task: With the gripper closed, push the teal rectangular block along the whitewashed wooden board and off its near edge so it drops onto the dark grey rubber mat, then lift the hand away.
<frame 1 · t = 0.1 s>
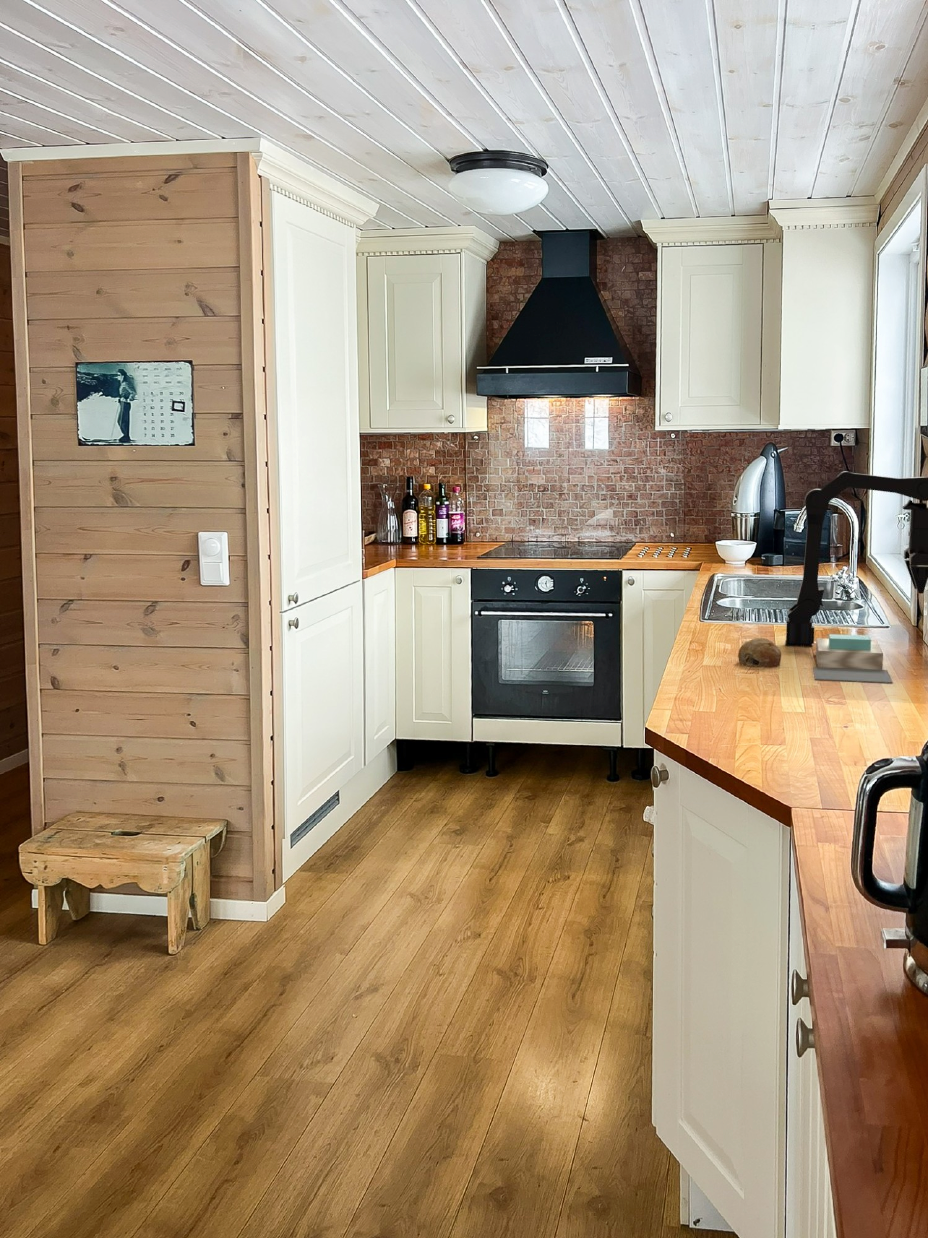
hand: (918, 591, 286), 15 cm above the counter, tool pointing down, fingers open, 9 cm apart
board: (847, 662, 272), on the counter
mat: (851, 675, 256), on the counter
teal rectangular block: (849, 647, 269), point 4 cm above the counter, touching board
brown rounded dome: (759, 664, 272), on the counter
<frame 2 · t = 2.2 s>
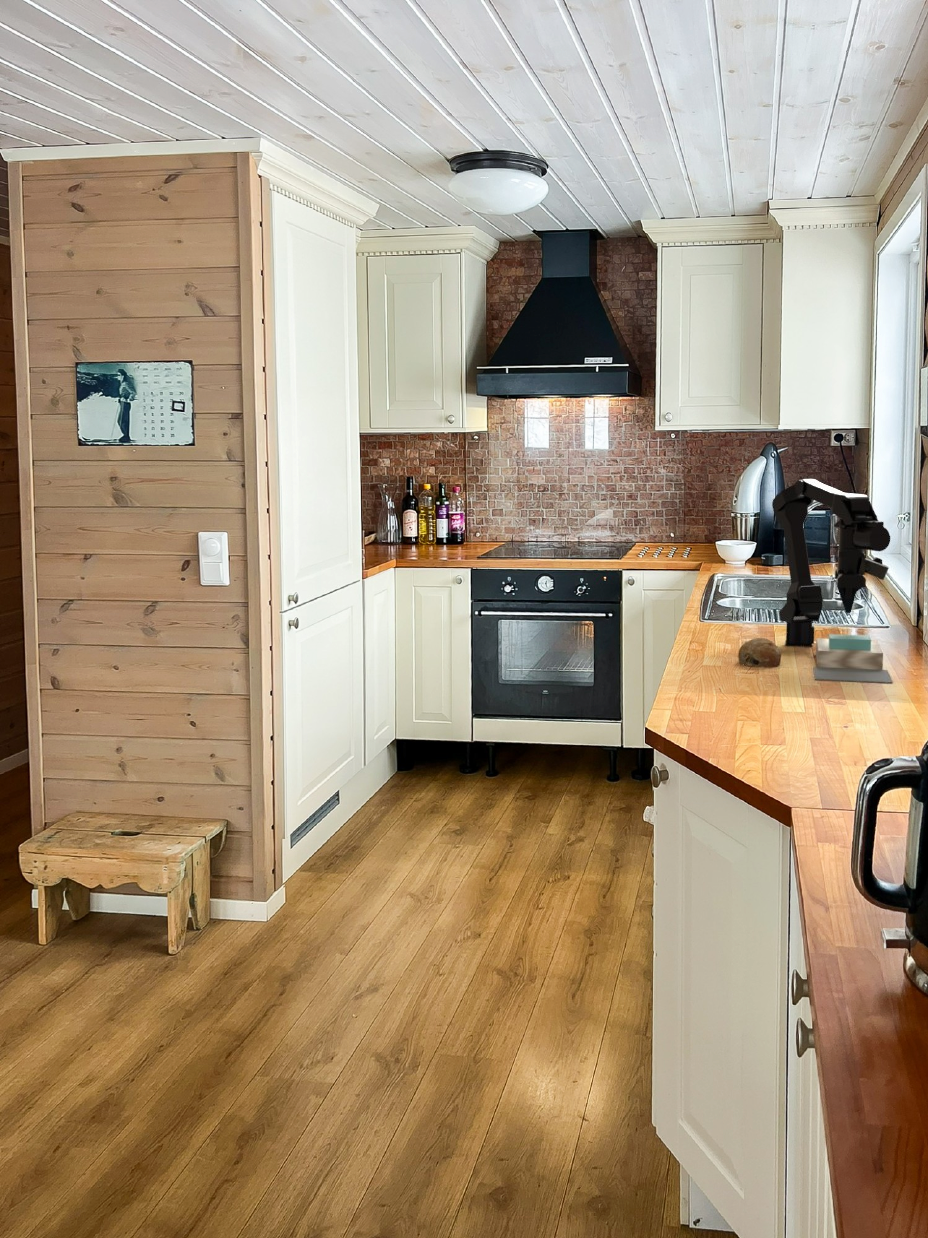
hand: (848, 612, 276), 11 cm above the counter, tool pointing down, fingers closed
nothing on the counter moved.
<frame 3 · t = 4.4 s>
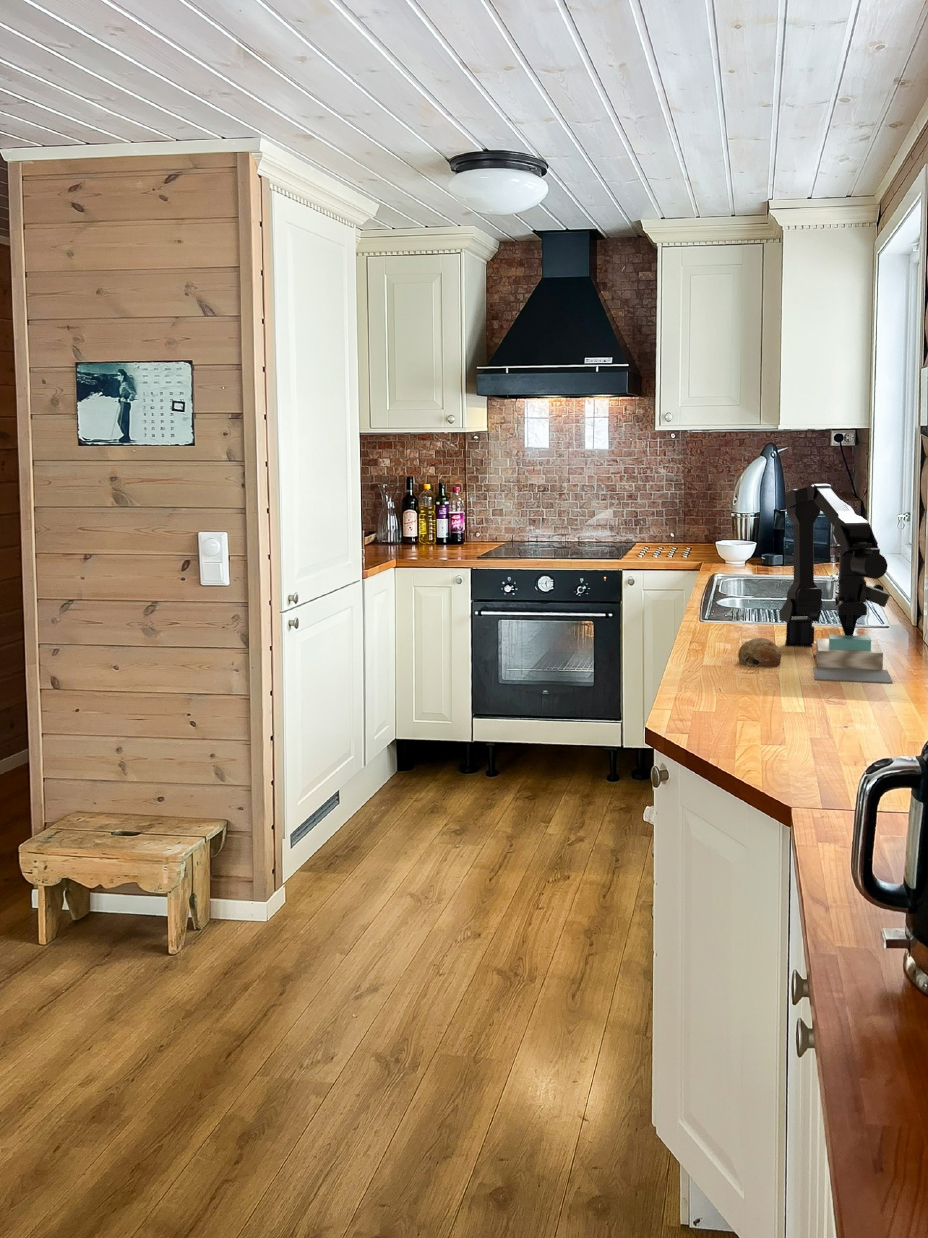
hand: (849, 640, 272), 5 cm above the counter, tool pointing down, fingers closed
teal rectangular block: (849, 648, 268), point 4 cm above the counter, touching board, gripper
everything else where it was.
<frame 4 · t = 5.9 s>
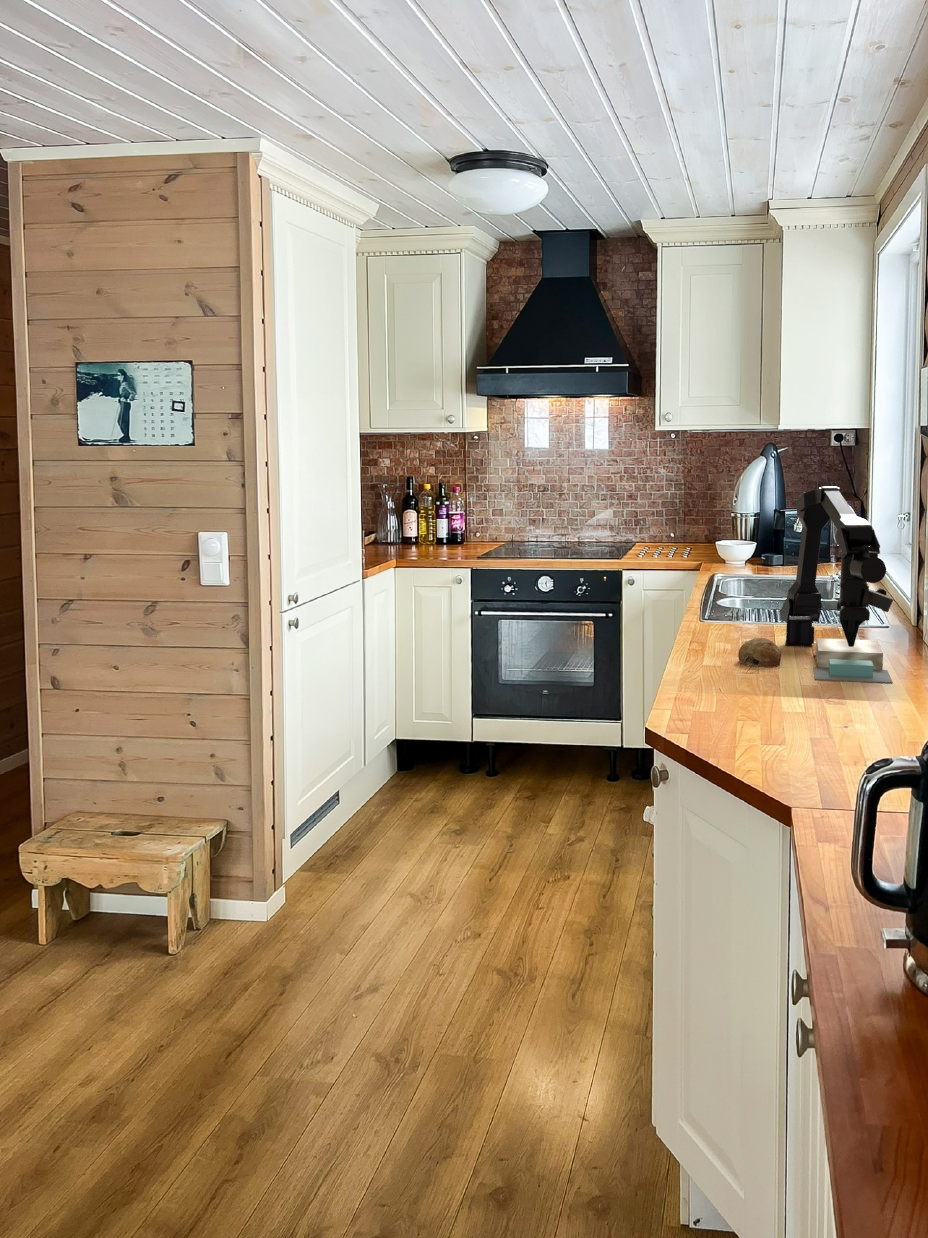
hand: (851, 646, 263), 5 cm above the counter, tool pointing down, fingers closed
teal rectangular block: (851, 662, 257), point 3 cm above the counter, tilted 180°, touching mat
everything else where it was.
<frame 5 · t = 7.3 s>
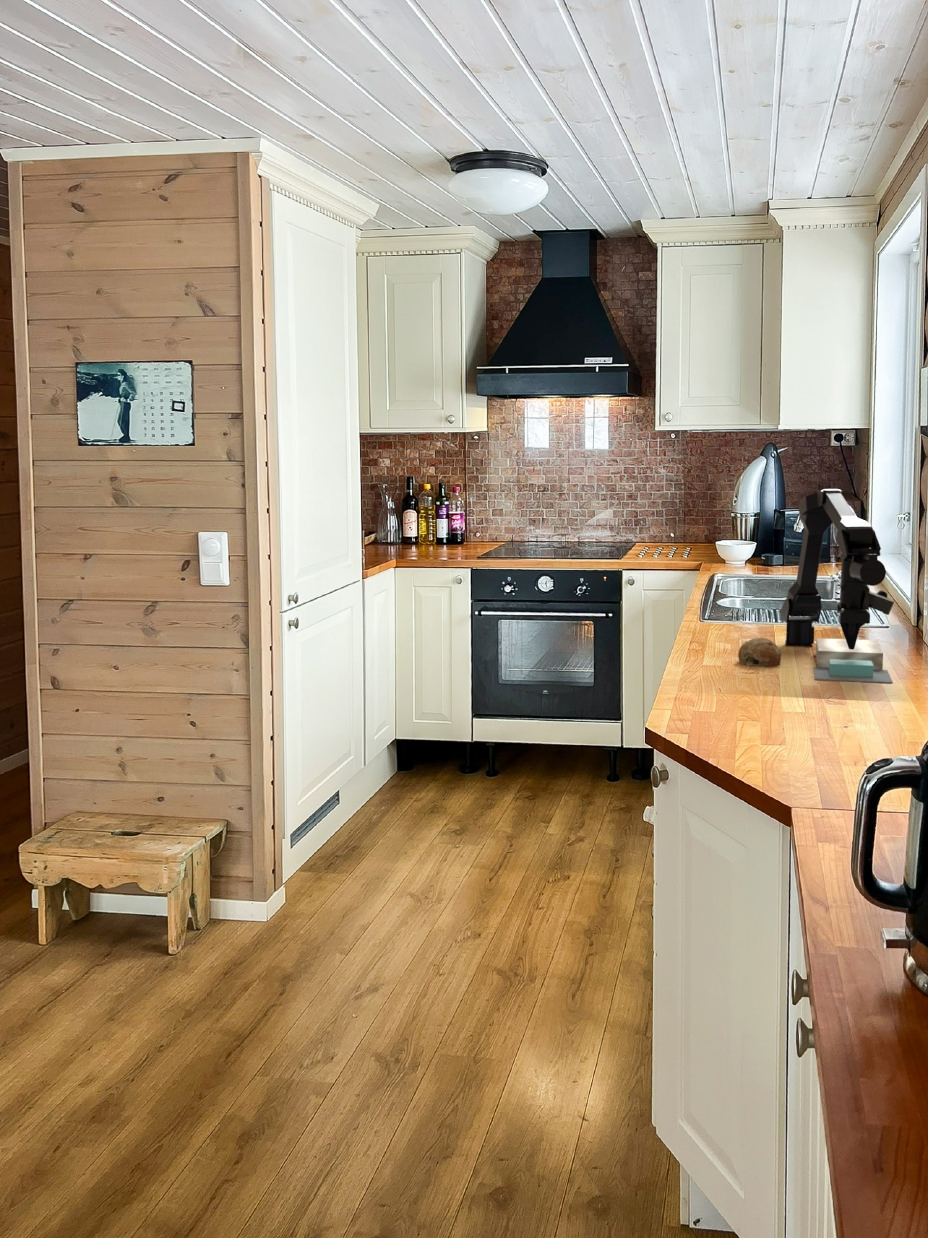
hand: (851, 649, 261), 5 cm above the counter, tool pointing down, fingers closed
nothing on the counter moved.
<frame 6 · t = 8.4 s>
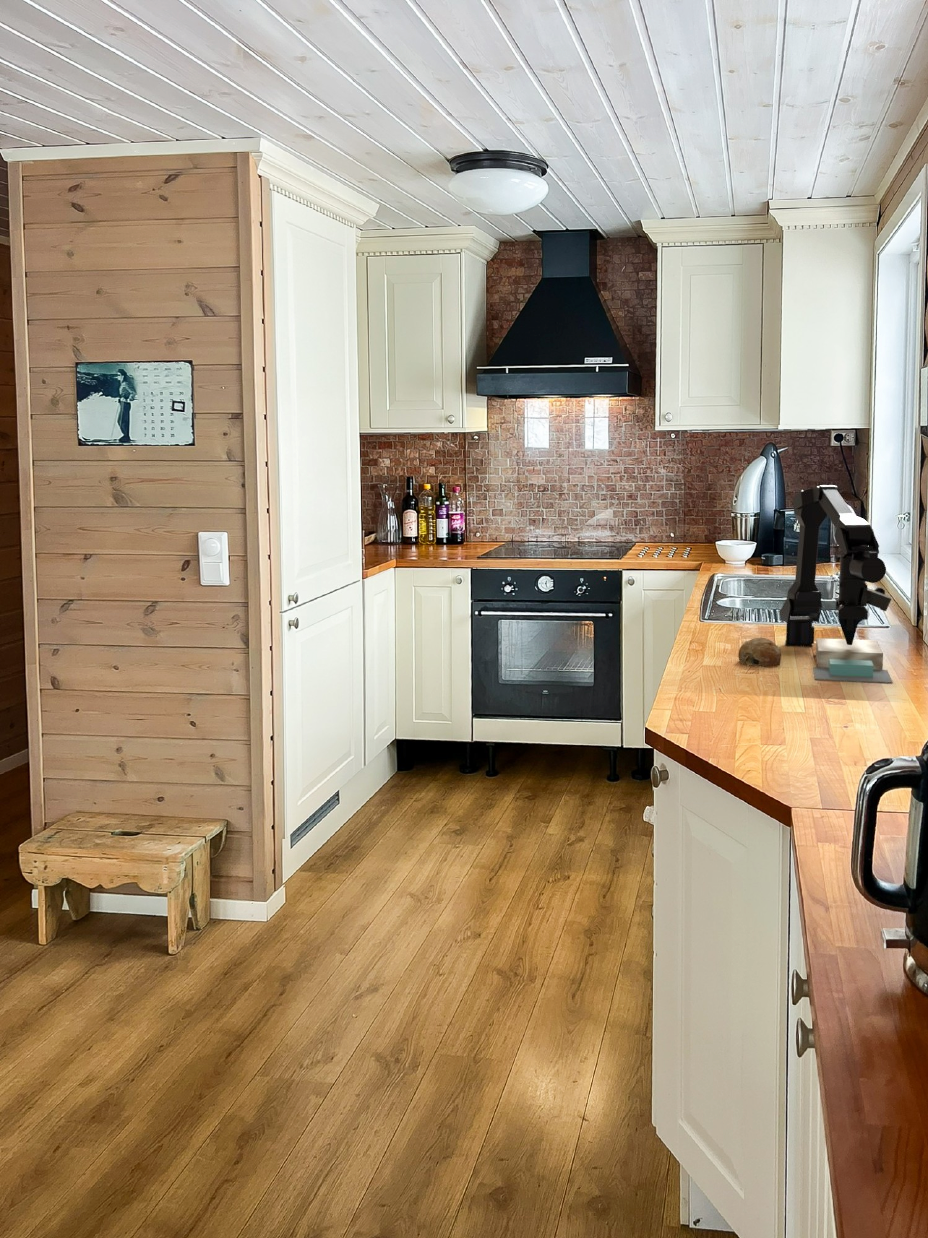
hand: (849, 644, 267), 5 cm above the counter, tool pointing down, fingers closed
nothing on the counter moved.
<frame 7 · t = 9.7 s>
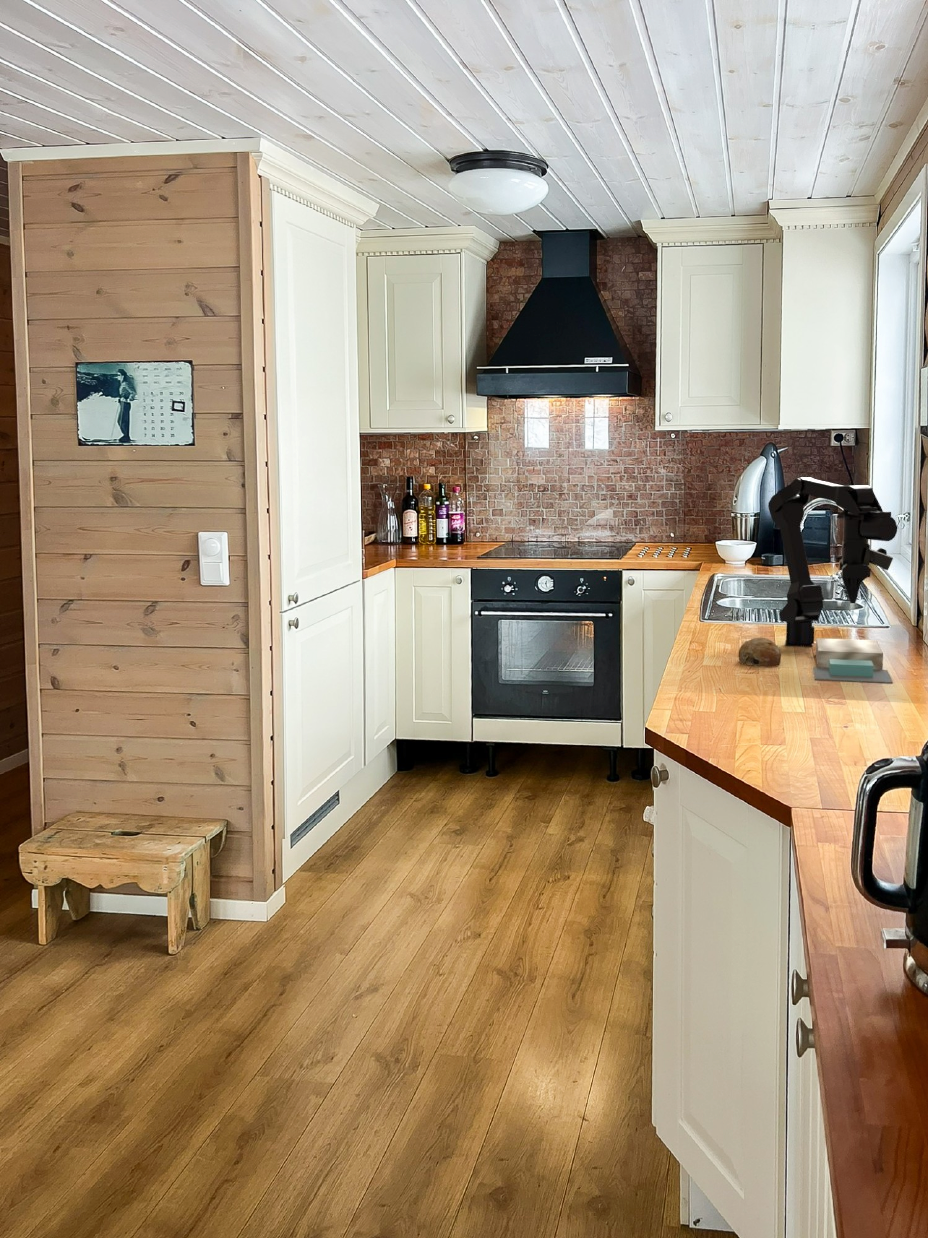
hand: (852, 603, 278), 13 cm above the counter, tool pointing down, fingers closed
nothing on the counter moved.
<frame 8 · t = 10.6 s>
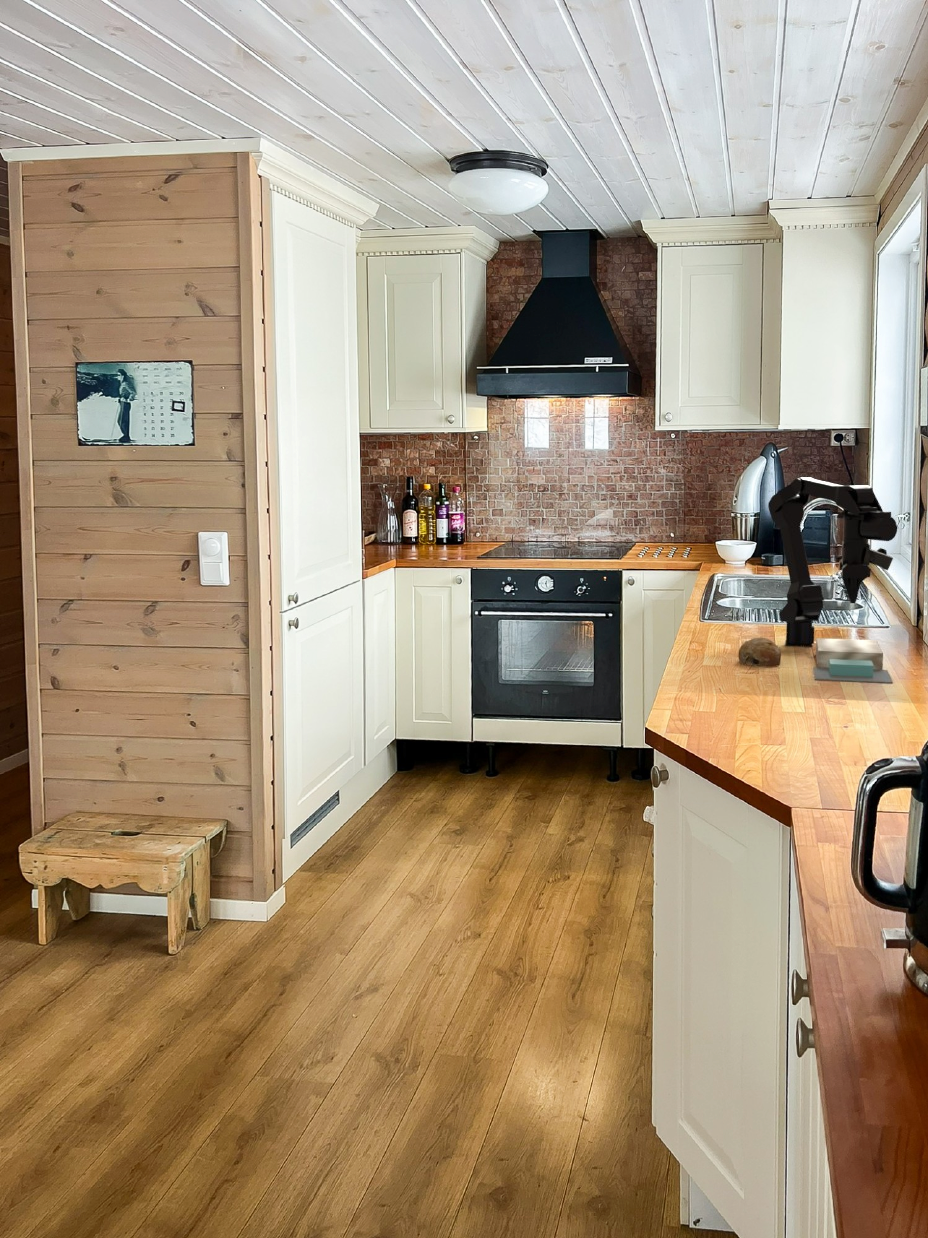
hand: (852, 603, 278), 13 cm above the counter, tool pointing down, fingers closed
nothing on the counter moved.
at the end: teal rectangular block inside the target area on the mat (1.0 cm from its centre), point 2.8 cm above the mat's base; teal rectangular block point 2.8 cm above the counter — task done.
